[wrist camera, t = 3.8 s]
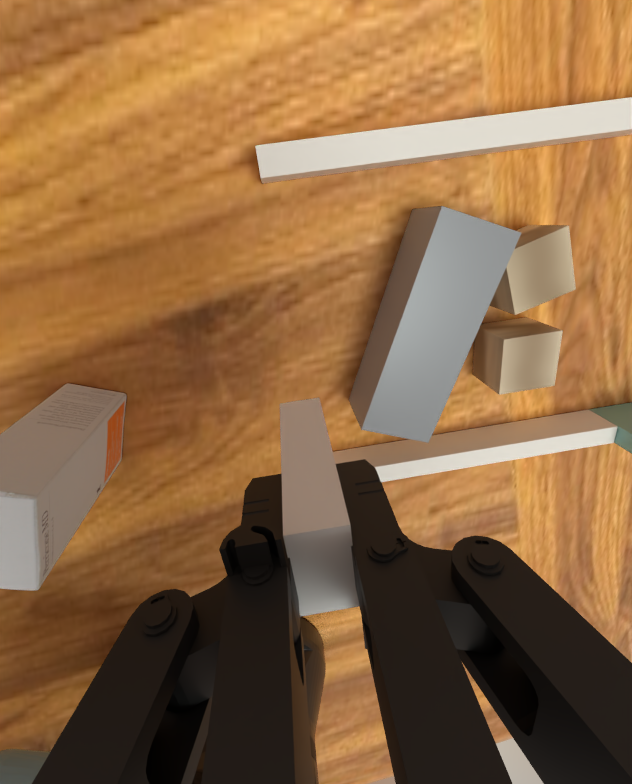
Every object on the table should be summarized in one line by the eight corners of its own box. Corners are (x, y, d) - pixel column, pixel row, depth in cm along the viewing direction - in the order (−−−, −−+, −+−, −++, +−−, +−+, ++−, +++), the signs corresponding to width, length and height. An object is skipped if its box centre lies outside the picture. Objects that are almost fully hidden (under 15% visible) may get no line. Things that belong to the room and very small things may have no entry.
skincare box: (124, 460, 30) (39, 595, 19) (65, 451, 29) (-60, 588, 18) (129, 390, 28) (36, 499, 17) (65, 379, 27) (-76, 485, 16)
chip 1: (483, 303, 28) (515, 315, 24) (471, 249, 26) (503, 253, 23) (535, 280, 28) (575, 289, 24) (527, 225, 26) (568, 225, 22)
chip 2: (471, 373, 30) (499, 394, 26) (474, 324, 28) (503, 339, 25) (520, 366, 30) (554, 385, 27) (525, 316, 29) (562, 330, 25)
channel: (308, 470, 32) (311, 493, 29) (257, 154, 23) (255, 145, 20) (585, 424, 33) (613, 442, 30) (648, 104, 24) (697, 88, 21)
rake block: (348, 398, 30) (361, 429, 25) (411, 209, 25) (442, 205, 20) (405, 410, 31) (428, 442, 26) (477, 231, 26) (521, 232, 21)
